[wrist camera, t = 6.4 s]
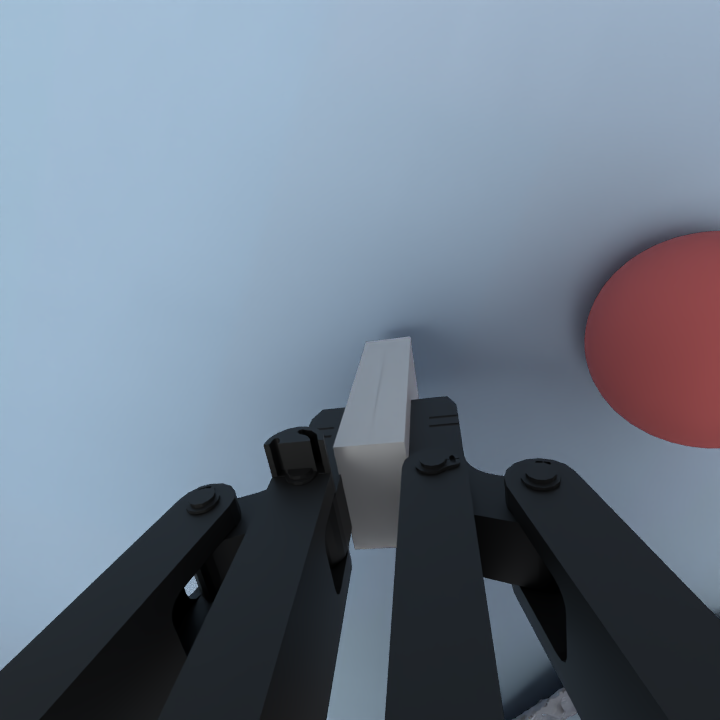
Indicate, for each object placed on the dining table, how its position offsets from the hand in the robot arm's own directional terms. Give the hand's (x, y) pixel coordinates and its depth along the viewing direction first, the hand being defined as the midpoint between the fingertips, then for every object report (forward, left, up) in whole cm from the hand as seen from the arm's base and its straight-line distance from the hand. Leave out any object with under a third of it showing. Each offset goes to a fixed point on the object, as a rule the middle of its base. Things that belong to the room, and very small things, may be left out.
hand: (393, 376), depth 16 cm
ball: (+1, -9, +1) cm, 9 cm away
